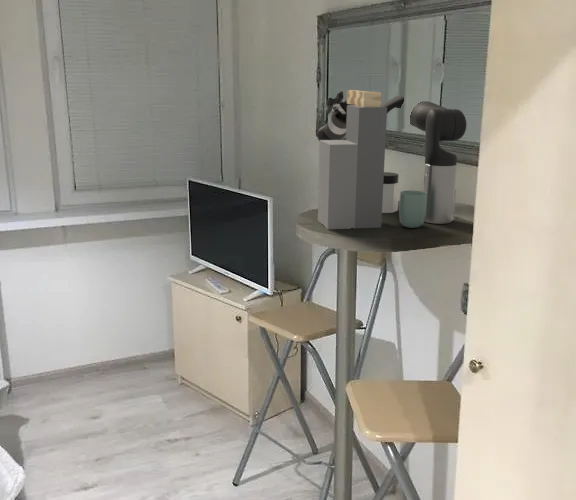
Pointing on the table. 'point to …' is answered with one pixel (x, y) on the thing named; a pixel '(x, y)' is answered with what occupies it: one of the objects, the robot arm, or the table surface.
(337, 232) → the table surface
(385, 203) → the jar
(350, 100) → the tan wooden bar piece
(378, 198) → the stand
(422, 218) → the cup
